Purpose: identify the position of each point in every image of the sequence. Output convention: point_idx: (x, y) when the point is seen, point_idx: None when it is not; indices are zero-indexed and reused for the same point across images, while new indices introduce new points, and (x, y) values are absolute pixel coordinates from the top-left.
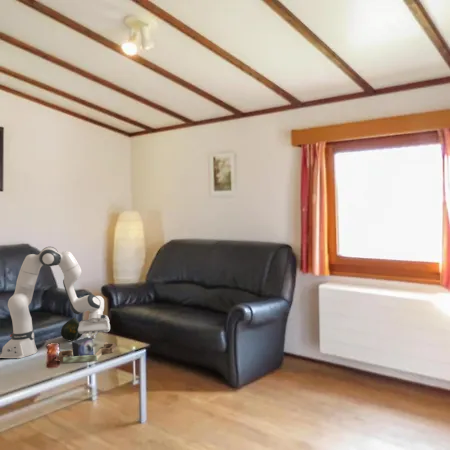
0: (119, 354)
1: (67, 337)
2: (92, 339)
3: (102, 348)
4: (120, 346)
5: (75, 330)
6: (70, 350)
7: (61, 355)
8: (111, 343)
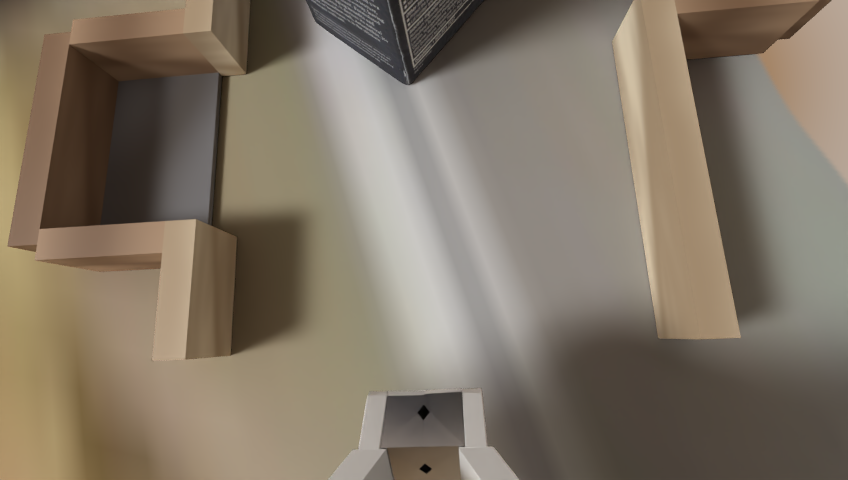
0: (18, 20)
1: None
2: None
3: (175, 31)
4: (22, 315)
5: None
6: (675, 3)
7: None
8: (71, 242)
